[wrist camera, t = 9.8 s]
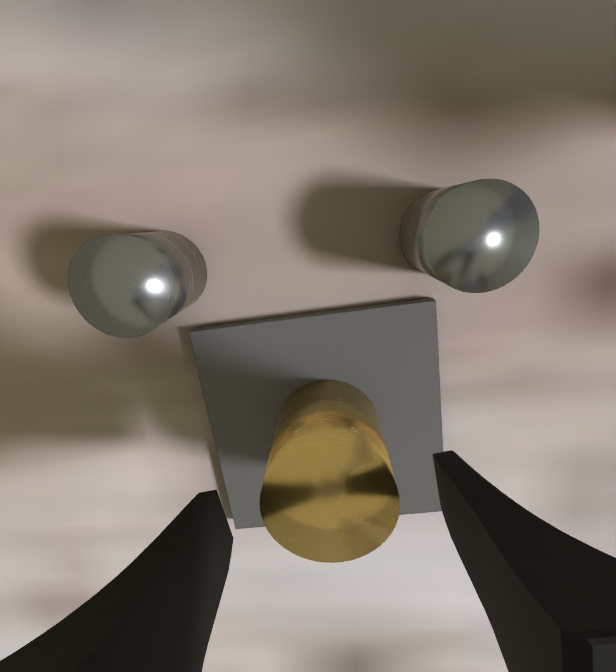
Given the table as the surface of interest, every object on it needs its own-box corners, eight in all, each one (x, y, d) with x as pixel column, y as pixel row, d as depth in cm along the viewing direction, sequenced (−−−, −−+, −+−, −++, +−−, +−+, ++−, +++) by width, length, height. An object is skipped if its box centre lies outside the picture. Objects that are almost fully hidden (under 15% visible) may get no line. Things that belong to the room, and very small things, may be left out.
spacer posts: (479, -217, 11) (558, -437, 8) (484, 268, 15) (537, 285, 12) (25, -115, 12) (-108, -262, 9) (140, 314, 16) (85, 343, 13)
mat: (431, 297, 16) (436, 300, 15) (442, 501, 19) (445, 510, 18) (193, 328, 17) (189, 332, 16) (238, 519, 19) (235, 529, 19)
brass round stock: (369, 370, 16) (387, 433, 11) (386, 461, 17) (409, 552, 13) (267, 390, 17) (243, 458, 12) (290, 477, 18) (277, 571, 13)
